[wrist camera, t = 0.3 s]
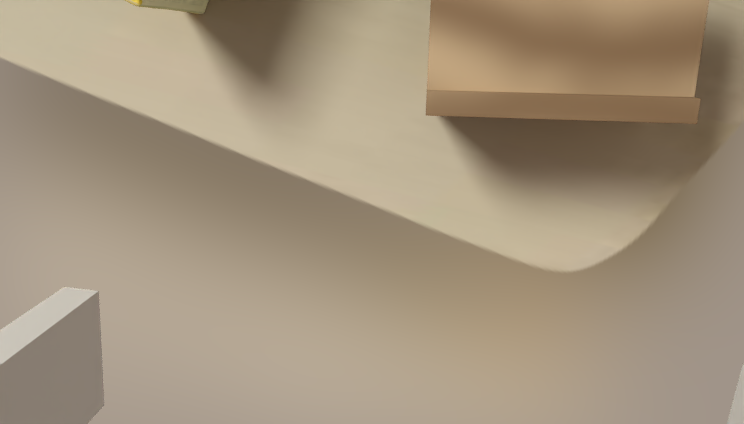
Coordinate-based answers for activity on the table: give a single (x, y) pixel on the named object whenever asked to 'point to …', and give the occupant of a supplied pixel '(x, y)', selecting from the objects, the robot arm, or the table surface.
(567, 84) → the shelf
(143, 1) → the candy box
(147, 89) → the table surface
